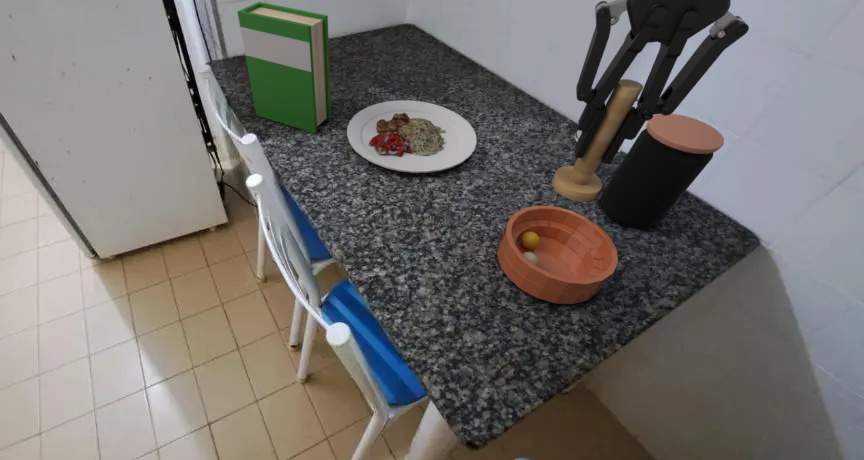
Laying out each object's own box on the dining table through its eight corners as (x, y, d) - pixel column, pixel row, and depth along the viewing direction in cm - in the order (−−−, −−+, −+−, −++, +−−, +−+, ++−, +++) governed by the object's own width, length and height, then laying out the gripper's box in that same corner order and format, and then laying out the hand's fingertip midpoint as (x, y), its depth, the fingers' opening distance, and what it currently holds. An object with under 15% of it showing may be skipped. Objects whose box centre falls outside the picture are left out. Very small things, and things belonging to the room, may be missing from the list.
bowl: (601, 320, 59) (621, 298, 55) (490, 286, 63) (500, 263, 59) (597, 244, 70) (614, 220, 65) (502, 219, 74) (512, 195, 69)
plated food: (488, 125, 97) (492, 112, 95) (452, 195, 78) (456, 182, 76) (378, 97, 106) (379, 85, 104) (323, 153, 88) (323, 141, 85)
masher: (598, 206, 52) (665, 101, 41) (550, 195, 53) (603, 91, 42) (596, 179, 56) (656, 77, 45) (551, 170, 57) (599, 69, 46)
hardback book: (331, 119, 98) (327, 15, 81) (315, 133, 93) (308, 26, 76) (273, 102, 104) (259, 1, 86) (256, 114, 99) (237, 11, 82)
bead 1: (535, 254, 67) (542, 243, 65) (517, 249, 68) (523, 238, 66) (537, 242, 69) (543, 231, 67) (519, 237, 70) (525, 226, 68)
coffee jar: (667, 234, 72) (738, 152, 59) (606, 227, 73) (663, 145, 60) (646, 196, 79) (706, 116, 66) (591, 190, 80) (639, 110, 67)
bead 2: (533, 276, 64) (540, 264, 62) (515, 270, 65) (520, 259, 62) (535, 263, 66) (541, 251, 64) (516, 257, 67) (522, 246, 64)
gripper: (809, -72, 34) (655, 152, 51) (613, -85, 38) (530, 128, 55) (849, -56, 29) (664, 186, 46) (620, -72, 33) (527, 157, 50)
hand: (592, 154), depth 50 cm, fingers closed on masher, 3 cm apart
